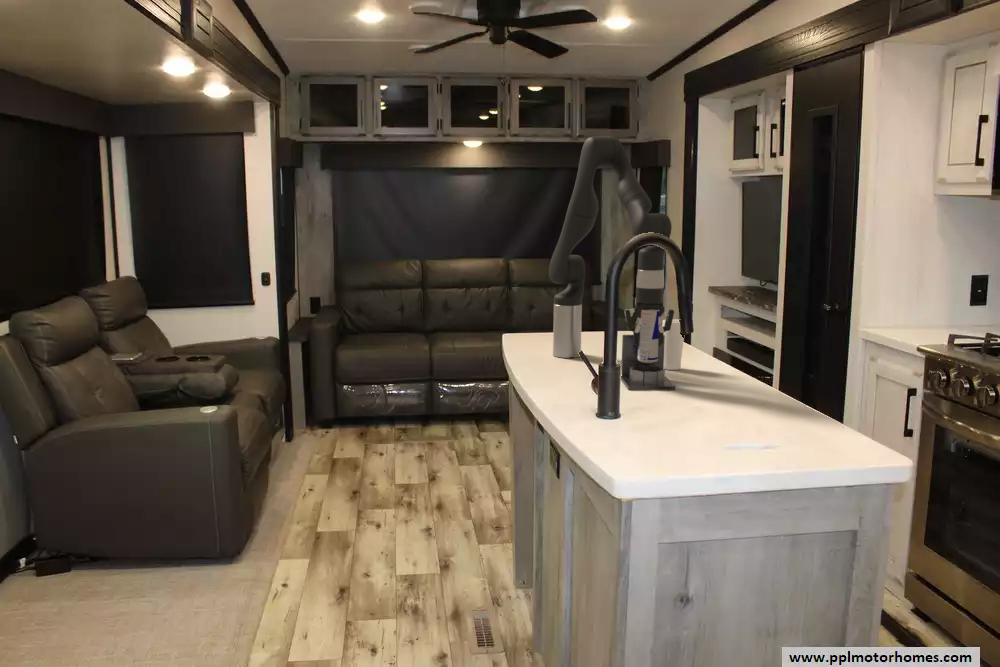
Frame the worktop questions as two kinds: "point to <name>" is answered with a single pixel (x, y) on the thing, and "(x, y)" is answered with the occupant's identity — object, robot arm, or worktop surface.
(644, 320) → the beverage can
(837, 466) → the worktop surface
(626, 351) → the cup bracket
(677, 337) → the white tapered cylinder
